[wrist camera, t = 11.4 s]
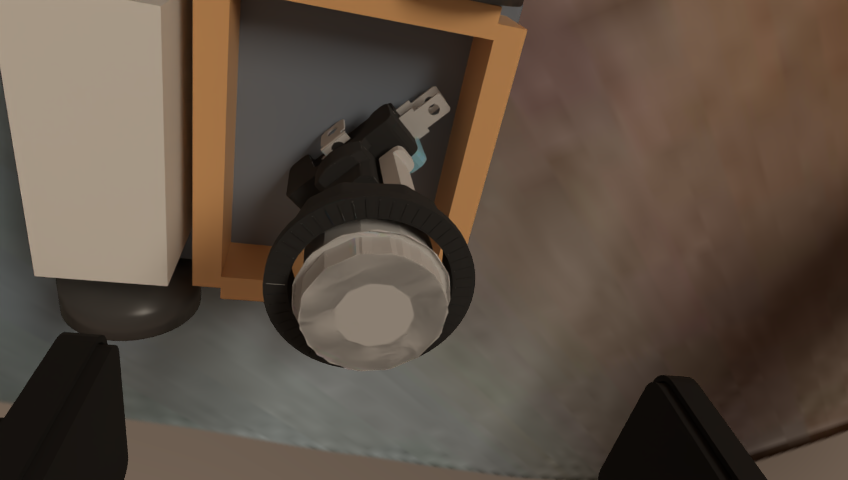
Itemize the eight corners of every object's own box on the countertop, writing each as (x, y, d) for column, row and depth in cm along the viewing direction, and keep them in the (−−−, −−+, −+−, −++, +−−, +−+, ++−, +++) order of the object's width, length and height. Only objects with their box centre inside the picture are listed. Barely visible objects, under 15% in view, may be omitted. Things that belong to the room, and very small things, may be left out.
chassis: (523, -47, 20) (580, -31, 16) (435, 288, 28) (457, 367, 23) (24, -163, 17) (-94, -187, 12) (74, 258, 24) (13, 345, 19)
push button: (396, 31, 20) (447, 131, 11) (477, 142, 22) (569, 291, 14) (256, 145, 21) (206, 310, 13) (348, 237, 24) (358, 425, 15)
